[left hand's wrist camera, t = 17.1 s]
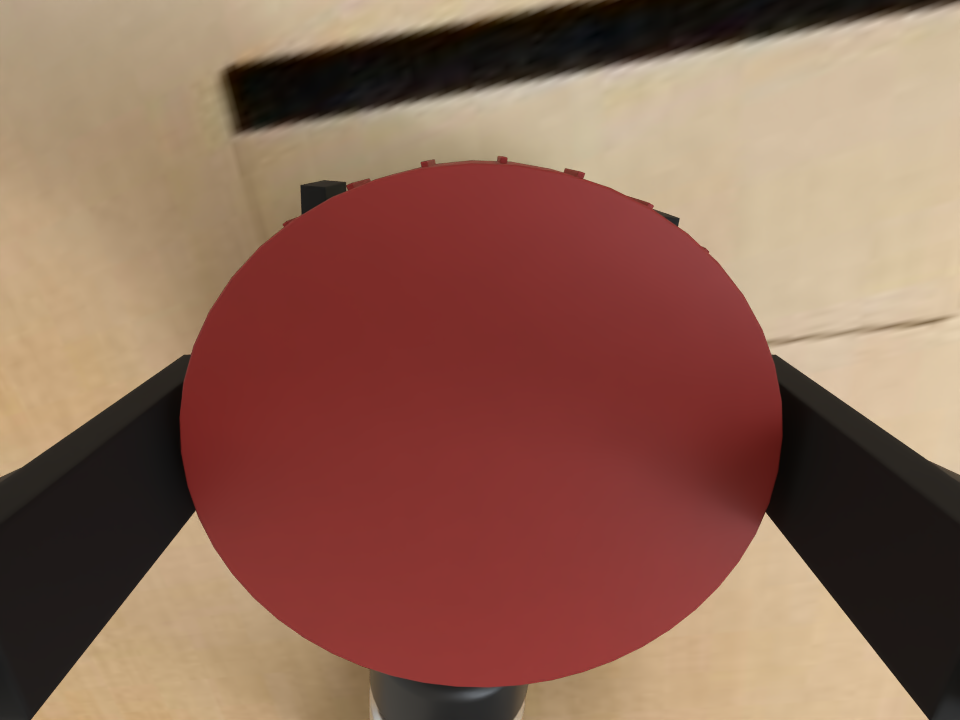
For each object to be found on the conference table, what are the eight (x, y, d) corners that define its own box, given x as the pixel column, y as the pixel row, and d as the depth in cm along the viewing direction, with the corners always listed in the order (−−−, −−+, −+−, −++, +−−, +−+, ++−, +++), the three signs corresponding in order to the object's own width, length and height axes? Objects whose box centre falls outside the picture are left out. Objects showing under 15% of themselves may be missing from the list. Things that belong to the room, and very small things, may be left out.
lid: (526, 675, 15) (534, 754, 13) (144, 474, 12) (81, 533, 10) (845, 373, 11) (918, 418, 10) (406, 18, 9) (386, -18, 7)
